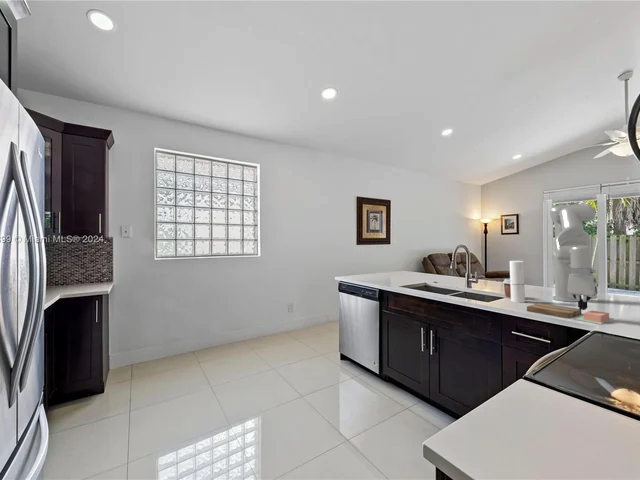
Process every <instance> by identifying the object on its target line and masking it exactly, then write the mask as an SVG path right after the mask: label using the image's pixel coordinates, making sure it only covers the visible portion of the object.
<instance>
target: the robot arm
mask: <svg viewBox="0 0 640 480" xmlns="http://www.w3.org/2000/svg"><path fill="white" fill-rule="evenodd" d="M549 215H550V218H551V220H552V222H553V224H554V239H553V240H554V241H553V248H554V250H553V251H552V253H551V259H552V263H553V268H554V269H553V271H554V290H555V291H554V293H555V295H554V296H552V298H551V299H552V300H556V301H560V302H577V307H578V309H580V310H581V311H586V310H587V309H588V301H590V300H596V299H599V298H598V294H599V290H598V284H597V283H598V282H597V279H596V275H595V274H594V273H597V270H596V269H593V265H592V263H593V262H592V260H593V259H592V257H593V254H594V253H593V249H592V247H591V236H590V234H589V232H587V231H584V225H583V222H590V221H593V220H594V219H596V209H594V207H593V206H592V205H590V204H588V203H577V204H566V205H565V204H564V205H563V204H562V205H556V206H552V207H551V208H550V210H549ZM582 296H583V298H582Z"/></svg>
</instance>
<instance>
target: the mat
mask: <svg viewBox="0 0 640 480" xmlns="http://www.w3.org/2000/svg"><path fill="white" fill-rule="evenodd" d="M569 319H570V320H574V321H581V322H586V323H591V324H596V325H604V324H605V323H608V322H610V321H613V320H615V318H613V317H609V320H607V321H604V322H601V323H600V322H595V321H589V320H584V313H582V314H581V315H578V316H575V317H572V318H569Z"/></svg>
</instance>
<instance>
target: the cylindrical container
mask: <svg viewBox="0 0 640 480" xmlns="http://www.w3.org/2000/svg"><path fill="white" fill-rule="evenodd" d="M524 265H525V263H524V261H523V260H509V279H510V286H511V299H510V301H511V302H512V303H520V304H521V303H526V295H525V294H526V292H525V291H526V290H525V288H526V287H525V268H524V267H525V266H524Z"/></svg>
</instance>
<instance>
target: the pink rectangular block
mask: <svg viewBox="0 0 640 480" xmlns="http://www.w3.org/2000/svg"><path fill="white" fill-rule="evenodd" d="M583 314H584V320H589V321H595V322H600V323H601V322H604V321H607V320H609V318H610V313H609V312H603V311H597V310H588V311H586V312H584V313H583Z"/></svg>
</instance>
